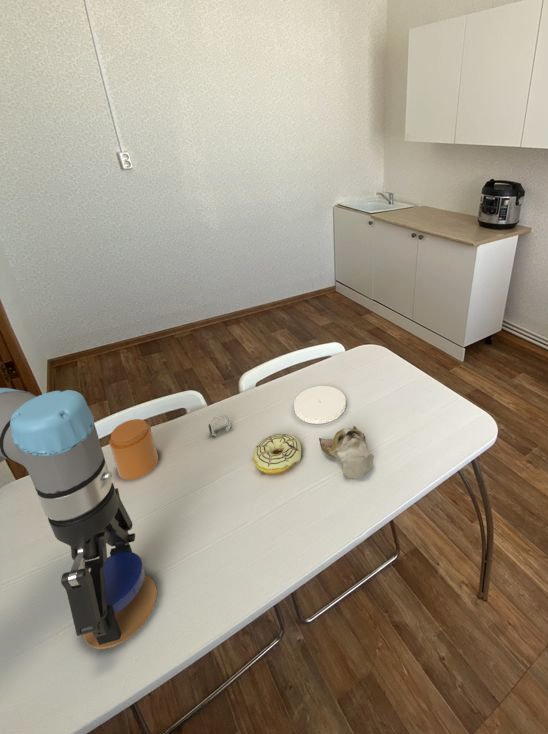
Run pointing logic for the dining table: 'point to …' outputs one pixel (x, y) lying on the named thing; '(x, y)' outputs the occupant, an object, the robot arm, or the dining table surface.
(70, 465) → the robot arm
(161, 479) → the dining table surface
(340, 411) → the plastic lid
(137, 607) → the wooden coaster
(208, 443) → the dining table surface
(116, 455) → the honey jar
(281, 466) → the decorated donut
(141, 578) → the jar lid
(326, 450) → the ceramic sculpture
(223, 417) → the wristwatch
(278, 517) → the dining table surface
